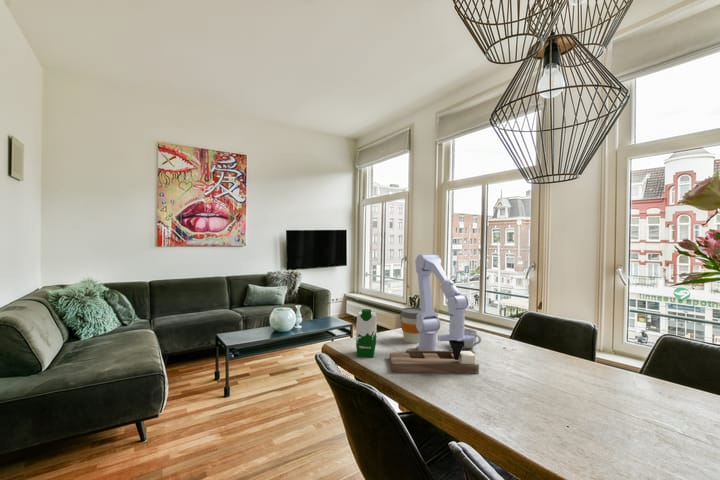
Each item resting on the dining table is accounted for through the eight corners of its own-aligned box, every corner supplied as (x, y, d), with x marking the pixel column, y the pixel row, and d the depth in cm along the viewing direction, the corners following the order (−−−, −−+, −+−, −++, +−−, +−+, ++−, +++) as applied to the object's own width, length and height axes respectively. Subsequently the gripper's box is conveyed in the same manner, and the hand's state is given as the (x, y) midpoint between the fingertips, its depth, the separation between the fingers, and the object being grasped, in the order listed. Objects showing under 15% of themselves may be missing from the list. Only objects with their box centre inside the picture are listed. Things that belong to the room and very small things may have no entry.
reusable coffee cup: (411, 334, 175) (412, 306, 174) (430, 340, 165) (431, 311, 165) (394, 339, 167) (395, 309, 166) (413, 346, 157) (414, 314, 157)
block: (458, 360, 133) (458, 350, 133) (470, 360, 133) (470, 351, 133) (461, 365, 128) (462, 355, 128) (474, 366, 128) (475, 355, 128)
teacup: (448, 344, 160) (448, 328, 160) (465, 341, 165) (465, 325, 164) (468, 354, 147) (469, 336, 147) (486, 351, 152) (487, 333, 152)
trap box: (388, 357, 142) (388, 350, 142) (465, 358, 142) (466, 351, 142) (392, 372, 127) (392, 363, 127) (478, 373, 127) (478, 365, 127)
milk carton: (354, 357, 141) (355, 310, 141) (357, 349, 150) (357, 306, 150) (375, 358, 141) (376, 311, 140) (376, 351, 150) (377, 307, 149)
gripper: (441, 327, 127) (440, 362, 128) (478, 328, 127) (477, 363, 128) (436, 322, 134) (436, 355, 135) (472, 323, 135) (471, 356, 135)
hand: (456, 359), depth 132 cm, fingers closed
